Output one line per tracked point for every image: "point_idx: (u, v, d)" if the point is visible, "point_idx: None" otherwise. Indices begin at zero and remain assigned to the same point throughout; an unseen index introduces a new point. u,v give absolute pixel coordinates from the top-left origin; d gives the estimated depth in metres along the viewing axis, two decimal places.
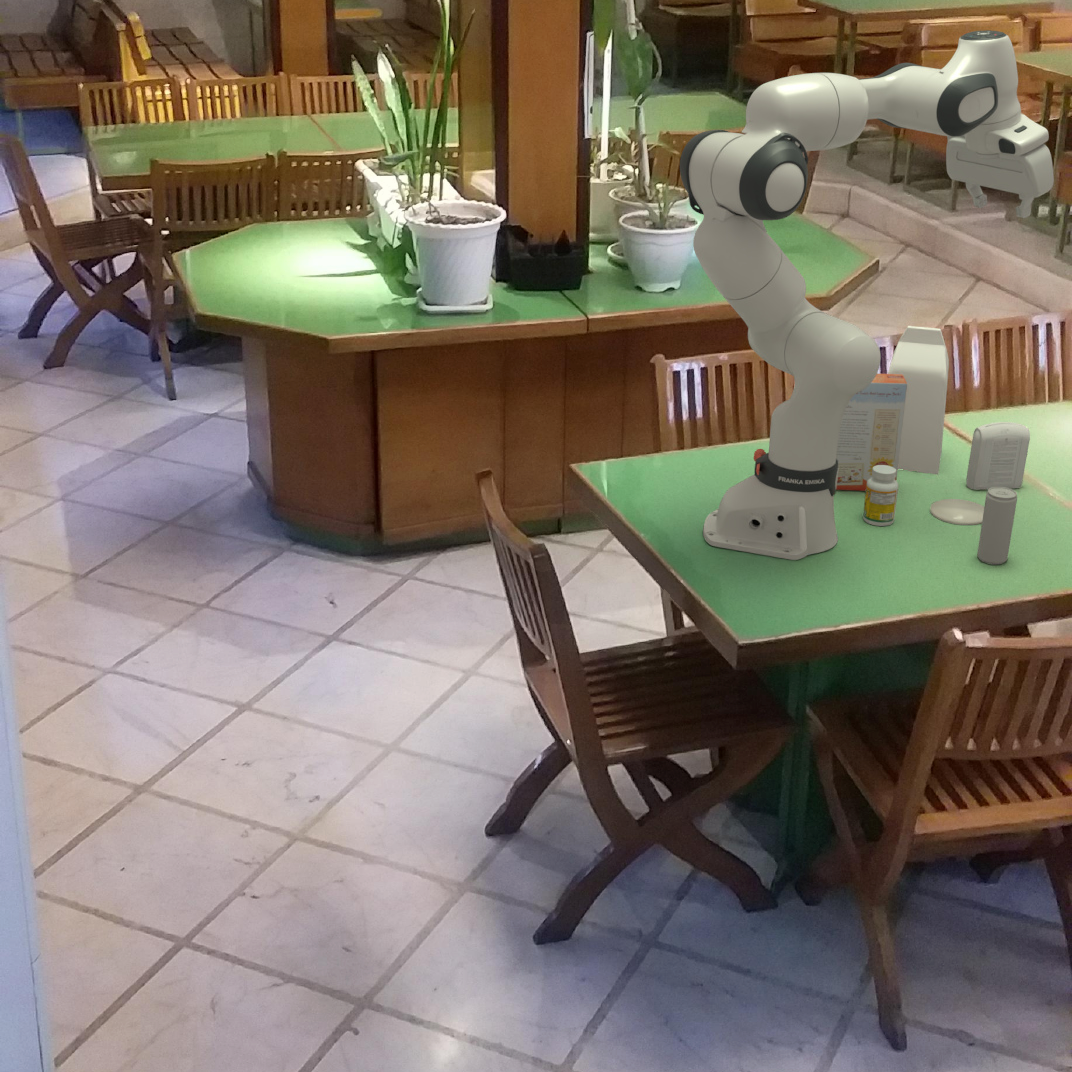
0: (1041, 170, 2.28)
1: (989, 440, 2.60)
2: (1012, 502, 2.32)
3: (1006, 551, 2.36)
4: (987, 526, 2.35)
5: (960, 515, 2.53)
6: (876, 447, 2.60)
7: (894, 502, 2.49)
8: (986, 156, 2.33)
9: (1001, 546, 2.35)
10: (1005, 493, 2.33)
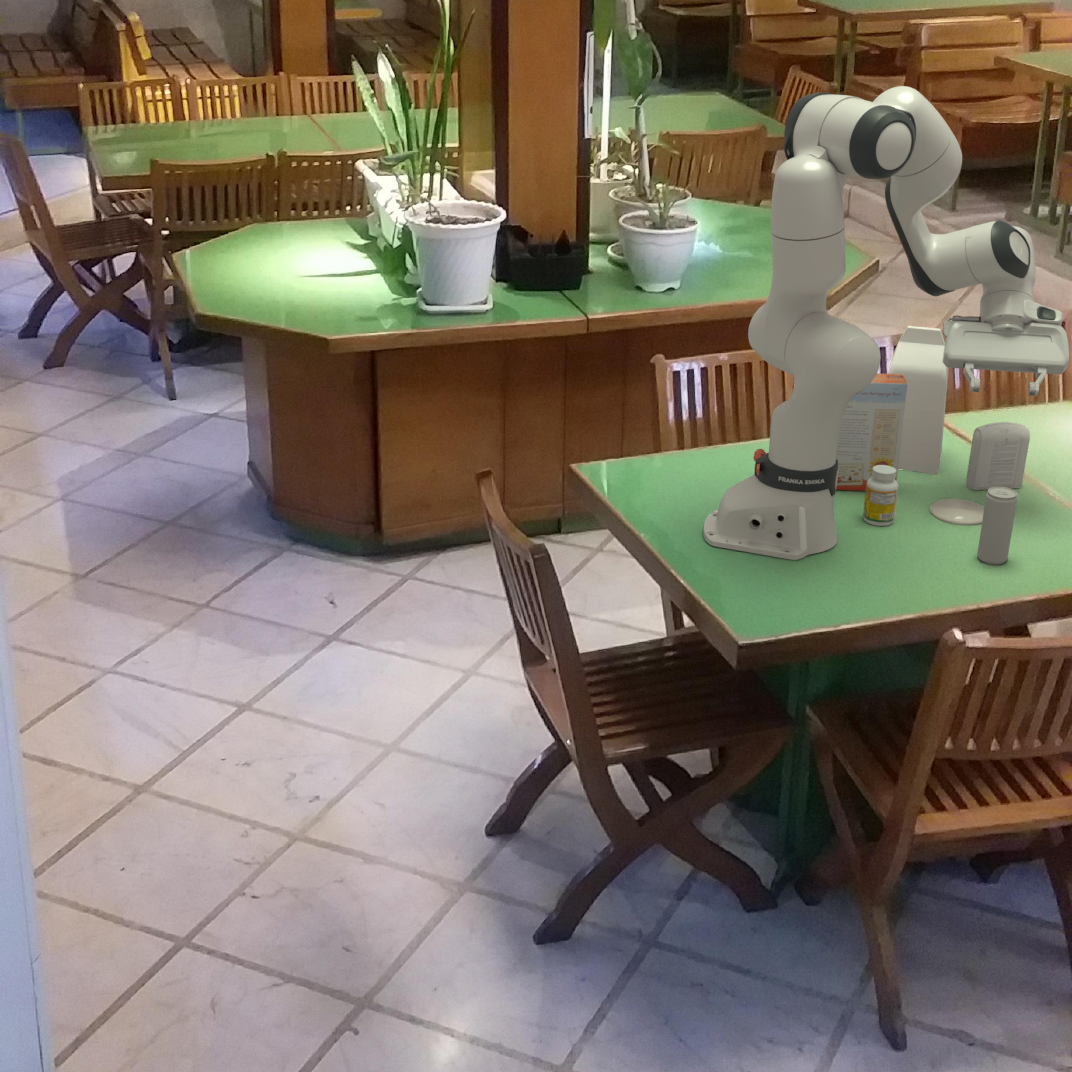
0: None
1: (989, 440, 2.60)
2: (1012, 502, 2.32)
3: (1006, 551, 2.36)
4: (987, 526, 2.35)
5: (960, 515, 2.53)
6: (876, 447, 2.60)
7: (894, 502, 2.49)
8: (1014, 325, 2.43)
9: (1001, 546, 2.35)
10: (1005, 493, 2.33)
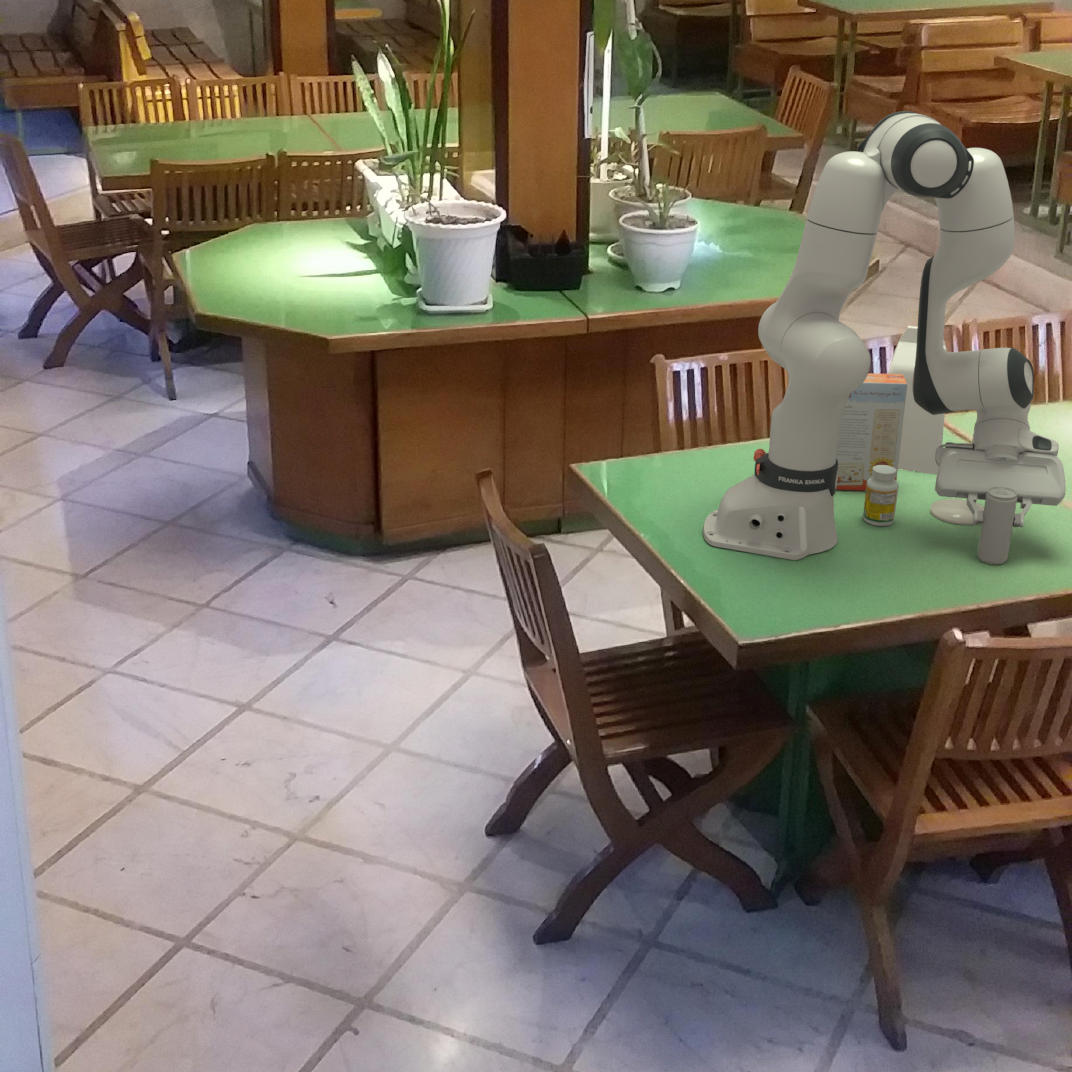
0: None
1: None
2: (1012, 502, 2.32)
3: (1006, 551, 2.36)
4: (987, 526, 2.35)
5: (960, 515, 2.53)
6: (876, 446, 2.60)
7: (894, 502, 2.49)
8: (1009, 455, 2.36)
9: (1001, 546, 2.35)
10: (1005, 493, 2.33)
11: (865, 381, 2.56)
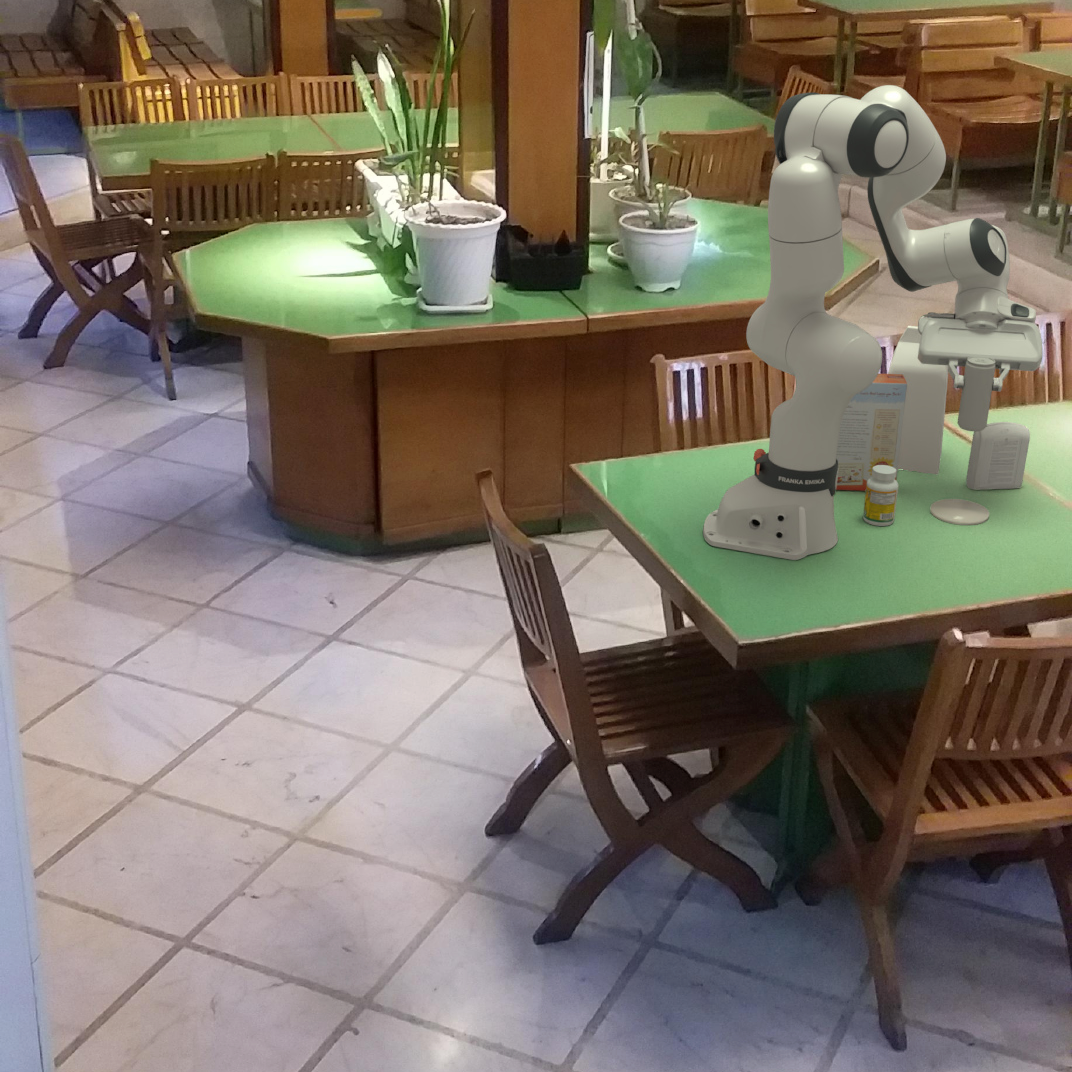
0: None
1: (989, 440, 2.60)
2: (990, 368, 2.42)
3: (984, 418, 2.46)
4: (966, 393, 2.45)
5: (960, 515, 2.53)
6: (876, 447, 2.60)
7: (894, 502, 2.49)
8: (988, 322, 2.46)
9: (980, 412, 2.45)
10: (984, 361, 2.43)
11: None
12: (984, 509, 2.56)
